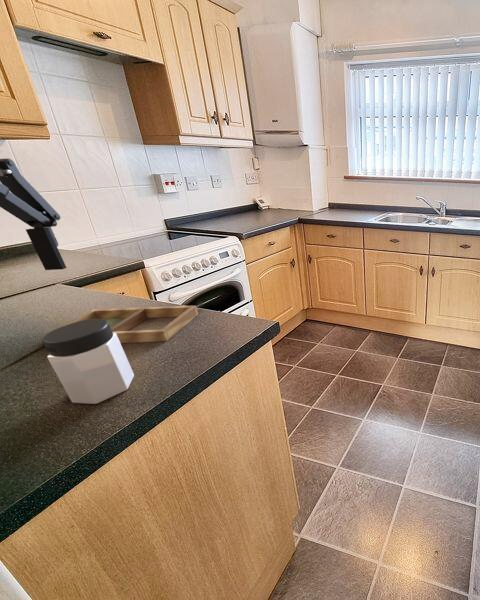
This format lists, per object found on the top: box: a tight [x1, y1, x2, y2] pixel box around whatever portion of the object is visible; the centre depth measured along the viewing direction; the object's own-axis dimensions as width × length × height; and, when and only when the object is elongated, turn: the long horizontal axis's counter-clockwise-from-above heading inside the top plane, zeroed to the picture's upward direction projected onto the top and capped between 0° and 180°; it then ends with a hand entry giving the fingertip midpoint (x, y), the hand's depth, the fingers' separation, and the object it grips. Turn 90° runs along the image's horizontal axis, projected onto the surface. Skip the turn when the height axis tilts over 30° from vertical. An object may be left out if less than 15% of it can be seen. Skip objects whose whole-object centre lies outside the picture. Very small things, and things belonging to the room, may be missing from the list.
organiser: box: [43, 305, 199, 344], centre depth 80 cm, size 26×14×2 cm, turn 91°
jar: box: [42, 319, 135, 405], centre depth 57 cm, size 9×8×12 cm
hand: (13, 284), depth 48 cm, fingers open, 13 cm apart
